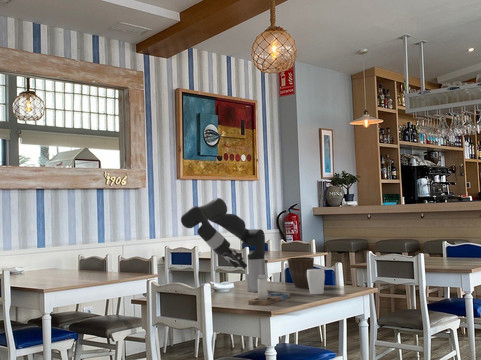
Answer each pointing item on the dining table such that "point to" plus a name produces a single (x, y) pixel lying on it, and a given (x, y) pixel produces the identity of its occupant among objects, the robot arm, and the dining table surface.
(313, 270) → the cup
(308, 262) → the plant pot
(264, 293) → the salt mill
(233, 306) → the dining table surface
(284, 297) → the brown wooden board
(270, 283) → the dining table surface
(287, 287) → the dining table surface
